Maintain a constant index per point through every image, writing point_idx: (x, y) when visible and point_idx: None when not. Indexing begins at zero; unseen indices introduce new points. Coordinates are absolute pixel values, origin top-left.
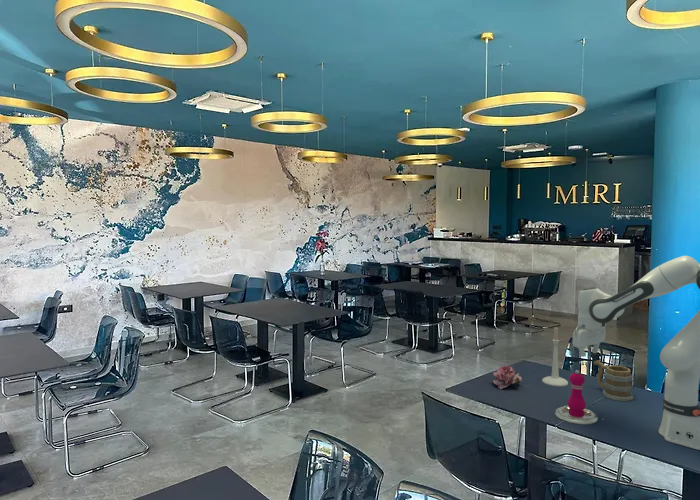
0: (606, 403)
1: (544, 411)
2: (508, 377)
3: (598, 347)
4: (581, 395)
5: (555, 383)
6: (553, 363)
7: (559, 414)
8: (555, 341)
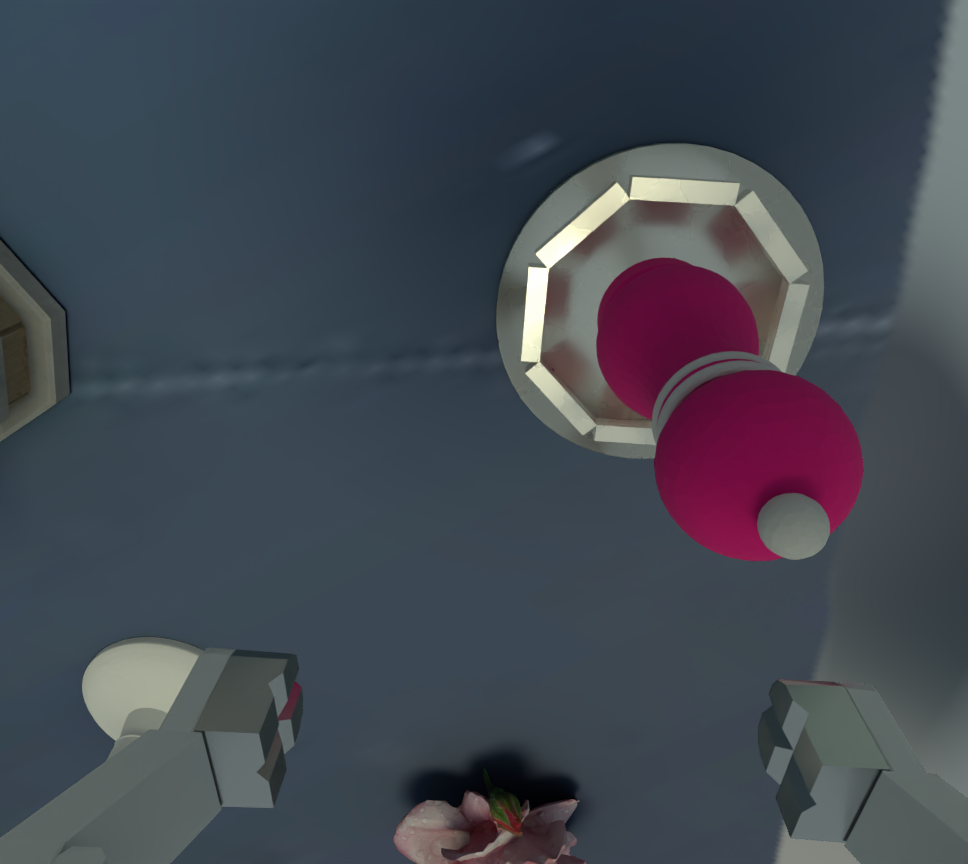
0: (184, 304)
1: None
2: (556, 857)
3: (104, 765)
4: (709, 331)
5: None
6: None
7: None
8: None
